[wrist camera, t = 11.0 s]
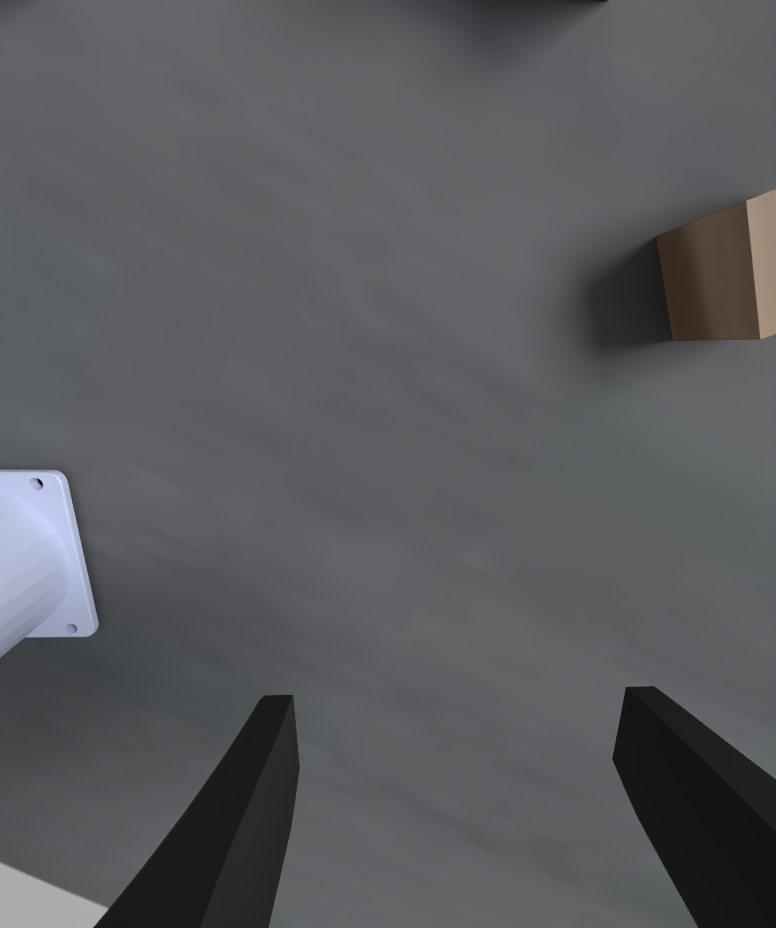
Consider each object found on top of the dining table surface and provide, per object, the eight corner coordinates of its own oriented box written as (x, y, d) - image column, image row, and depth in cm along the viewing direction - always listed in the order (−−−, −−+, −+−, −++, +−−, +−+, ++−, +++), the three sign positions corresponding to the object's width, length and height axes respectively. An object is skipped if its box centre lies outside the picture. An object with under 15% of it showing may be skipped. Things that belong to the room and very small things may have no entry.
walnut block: (671, 340, 16) (760, 339, 13) (654, 236, 15) (746, 200, 12) (771, 304, 16) (893, 291, 12) (761, 195, 15) (892, 144, 11)
